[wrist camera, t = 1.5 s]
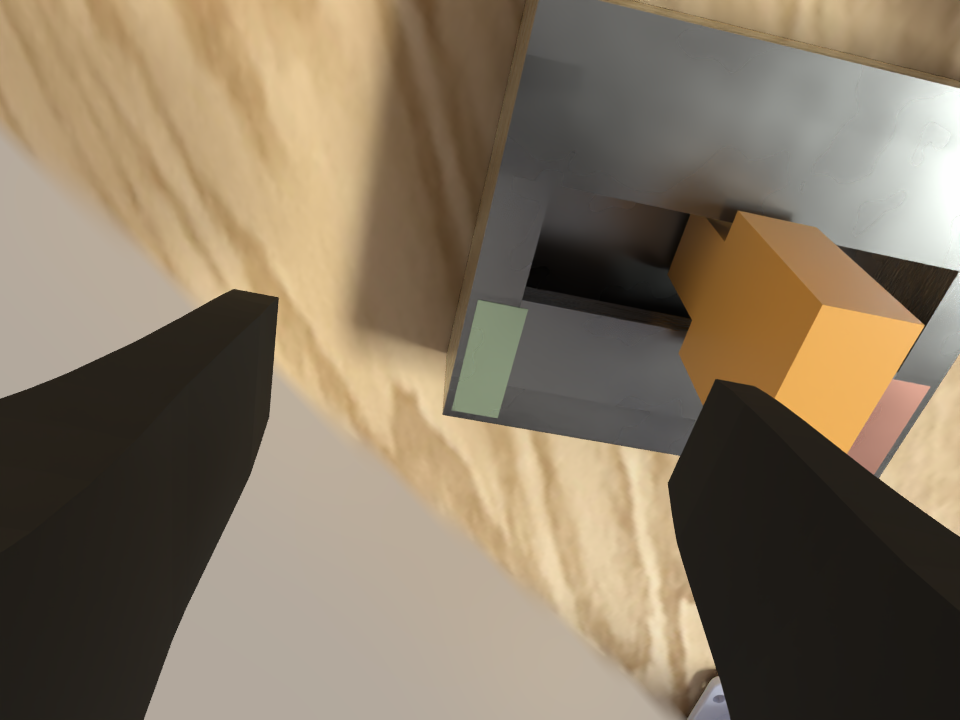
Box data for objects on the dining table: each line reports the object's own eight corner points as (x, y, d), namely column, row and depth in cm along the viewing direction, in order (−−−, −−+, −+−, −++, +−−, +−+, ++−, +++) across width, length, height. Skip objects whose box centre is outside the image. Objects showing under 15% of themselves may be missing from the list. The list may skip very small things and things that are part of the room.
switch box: (826, 423, 23) (872, 489, 20) (446, 354, 21) (442, 415, 19) (1015, 95, 17) (1109, 125, 15) (531, -25, 16) (542, -14, 14)
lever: (716, 312, 20) (825, 489, 14) (653, 300, 20) (735, 474, 13) (771, 186, 18) (924, 325, 12) (702, 171, 18) (822, 304, 12)
